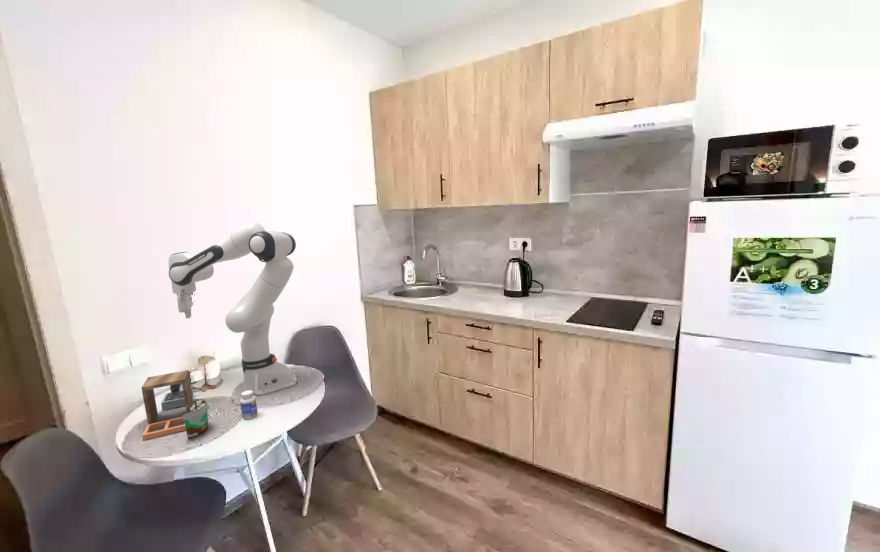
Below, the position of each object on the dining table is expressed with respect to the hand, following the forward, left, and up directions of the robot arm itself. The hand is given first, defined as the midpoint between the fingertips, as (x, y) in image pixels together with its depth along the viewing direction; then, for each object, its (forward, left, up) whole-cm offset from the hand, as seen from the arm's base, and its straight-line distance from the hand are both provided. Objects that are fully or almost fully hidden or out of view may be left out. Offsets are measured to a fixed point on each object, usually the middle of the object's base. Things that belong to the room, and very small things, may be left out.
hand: (188, 317), depth 175 cm
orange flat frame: (+5, +43, -31) cm, 54 cm away
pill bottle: (-22, +48, -31) cm, 61 cm away
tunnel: (+5, +34, -31) cm, 46 cm away
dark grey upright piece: (+5, +22, -31) cm, 38 cm away
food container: (-6, +50, -31) cm, 60 cm away
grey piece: (+5, +12, -31) cm, 33 cm away
